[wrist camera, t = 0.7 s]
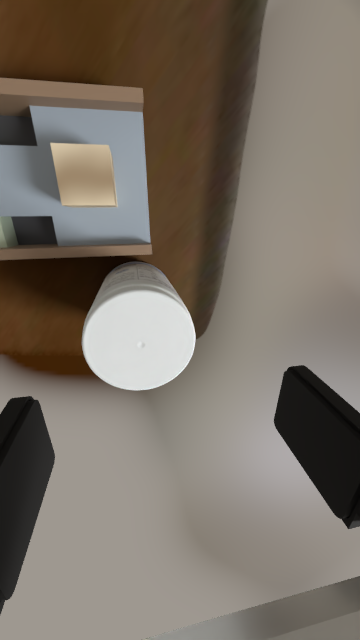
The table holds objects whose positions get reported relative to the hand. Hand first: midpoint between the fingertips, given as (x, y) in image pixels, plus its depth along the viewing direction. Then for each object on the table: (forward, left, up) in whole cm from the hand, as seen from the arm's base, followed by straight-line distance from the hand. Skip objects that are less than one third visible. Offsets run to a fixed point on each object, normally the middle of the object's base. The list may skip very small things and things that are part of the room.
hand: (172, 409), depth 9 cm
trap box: (-10, -11, -25) cm, 29 cm away
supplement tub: (+3, -1, -25) cm, 25 cm away
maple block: (-10, -5, -22) cm, 25 cm away
